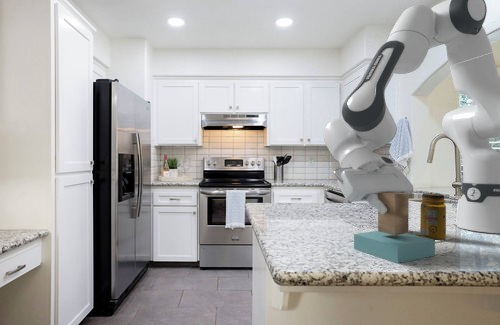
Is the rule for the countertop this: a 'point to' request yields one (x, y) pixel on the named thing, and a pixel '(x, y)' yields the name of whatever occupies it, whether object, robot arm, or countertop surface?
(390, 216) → the walnut block
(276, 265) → the countertop surface
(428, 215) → the condiment
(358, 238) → the base slab
